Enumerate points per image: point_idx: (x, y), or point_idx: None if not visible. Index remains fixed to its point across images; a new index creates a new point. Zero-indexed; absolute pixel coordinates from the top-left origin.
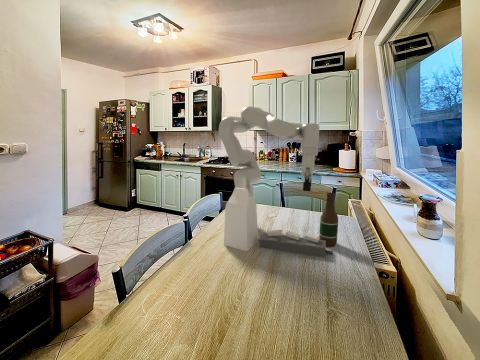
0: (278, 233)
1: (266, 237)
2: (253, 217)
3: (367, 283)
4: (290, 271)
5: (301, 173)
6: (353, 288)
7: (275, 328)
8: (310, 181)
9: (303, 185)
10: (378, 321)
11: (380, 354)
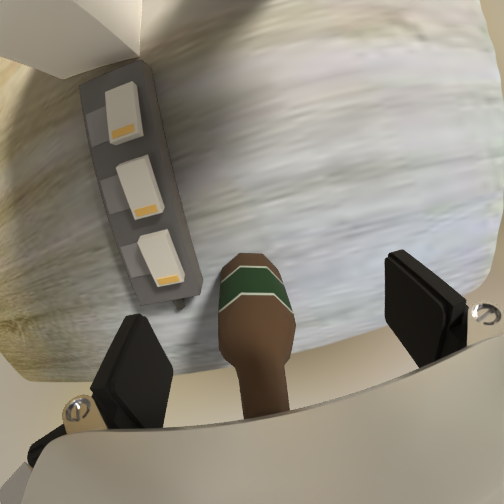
0: (110, 135)
1: (103, 96)
2: (57, 30)
3: None
4: (39, 236)
5: (29, 482)
6: (76, 351)
7: None
8: (414, 352)
9: (109, 356)
10: (43, 371)
11: (12, 365)
